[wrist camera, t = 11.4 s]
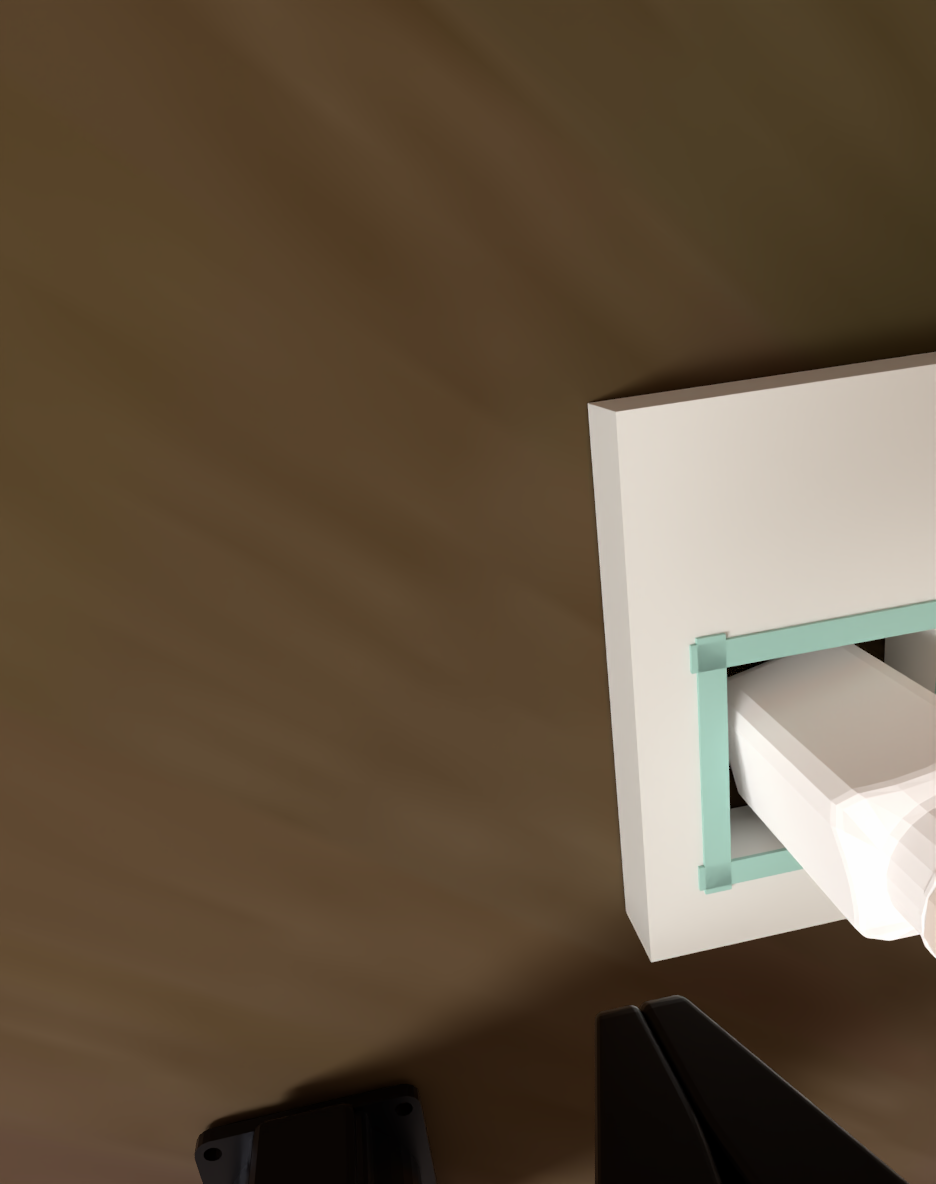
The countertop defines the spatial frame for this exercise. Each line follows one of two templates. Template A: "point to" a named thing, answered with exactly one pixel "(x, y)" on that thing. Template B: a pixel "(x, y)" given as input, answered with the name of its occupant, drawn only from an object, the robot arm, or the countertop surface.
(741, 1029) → the countertop surface
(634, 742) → the port plate
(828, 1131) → the robot arm
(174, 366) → the countertop surface
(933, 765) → the salt shaker
